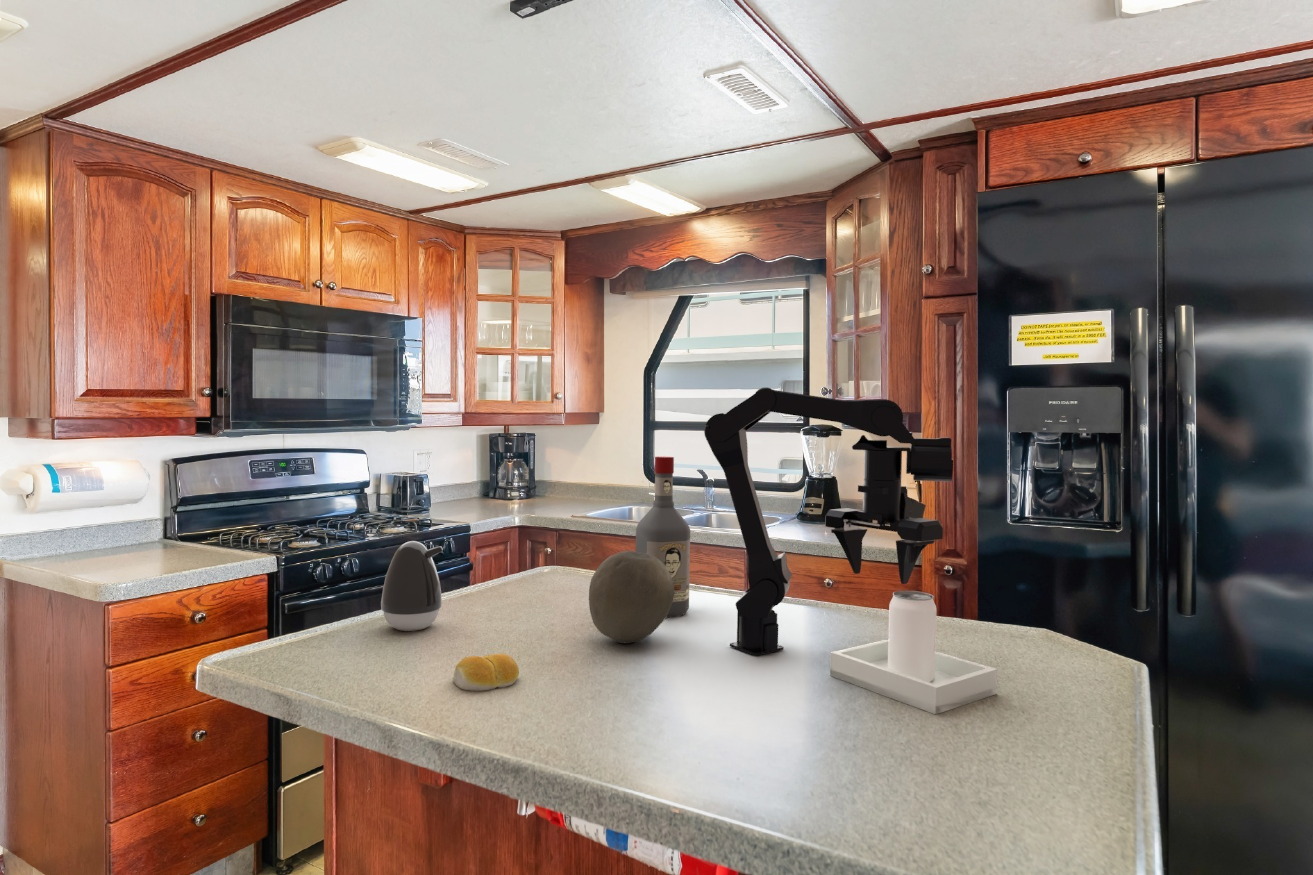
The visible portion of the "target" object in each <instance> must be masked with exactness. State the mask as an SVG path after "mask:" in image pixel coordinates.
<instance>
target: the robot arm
mask: <svg viewBox="0 0 1313 875" xmlns="http://www.w3.org/2000/svg"><path fill="white" fill-rule="evenodd" d="M770 413H777V414H783V415H790V416H796V417H802V418H809V419H815V420H821V421H828V422H834V423H839V424H843V425H846V426H849V427H851V428H854V429H857V430H860V431H863V432H866V433H869V434H872V435H875V436H878V437H890V438H892V439H893V440H895V441H896V442H898V443H899V444H910V446H909V447H908V446H907V447H906V446H905V447H904V446H888V443H887V442H888V440H886V439H868V438H867V437H866V435H864V434H862V435H861V436H860V437H859V439H858V440H857V441H856V442H855V443H854V444H852V446H851V448H852V450H854V451H864V452H863V484H859V485H857V492H858V493H862V494H863V495H862V509H856V508H851V507H849V508H848V507H845V508H844V507H843V508H835V509H829V510H828V511H827V513H826V514H825V518H824V519H825V521H824V522H825V524H824V525H825V526H824V527H825V528H832V529H830V533H832V534H834V535H835V537H836V539H837V541H838V542H839V545H840V546H841V548H842V550H843V552H844V554H845V556H846V559H847V561H848V563H849V565H850V567H851V570H852V572H853V574H854V575H855V574H857V575H859V574H861V569H862V558H863V557H862V555H863V539H864V537H865V535H866V534H867V531H868V529H874V530H882V531H888V532H895V533H897V535H898V537H899V538H900V539H899V540H898V539H897V540H895V545H896V546H895V547H896V557H897V566H898V575H899V576H898V577H899V580H900V583H901V584H902V585H906V584H908V583H909V580H910V578H911V576H912V573H913V570H914V568H915V566H916V563H917V561H918V559H919V557H920V555H921V553H922V551H923V550H924V549H925V548H926V547H927V546H928V545H933V544H935V541H937V540H943V539H944V538H943V535H944V528H943V525H942V523H941V522H940V521H939V519H932V518H925V517H924V515H925V511H926V507H927V505H926V504H925V503H923V502H920V501H918V500H916V499H914V498H912V497H909V494H908V488H907V486H904V485H902V472H903V471H902V467H903V465H902V464H903V463H902V462H903V461H902V460H903V452H906V453H905V454H906V456H905V457H906V458H905V474H906V475H908V474H909V475H910V476H911V475H912V479H913V481H920V482H921V481H922V482H942V483H943V482H945V483H946V482H947V483H951V482H952V481H953V473H954V459H953V456H952V454H953V453H952V451H953V450H952V438H950V437H937V438H933V437H932V438H929V437H928V438H927V437H926V438H925V437H915V438H914V436H913V431H909V430H908V428H907V427H906V426H905V424H904V423H903V422H904V413H903V412H902V409H901V407H900V406H899V404H898V403H896V402H895V401H893V400H890V399H887V398H886V399H885V398H880V399H837V398H830V397H823V396H816V395H809V394H804V393H803V394H802V393H796V392H790V391H784V390H783V391H782V390H776V389H775V388H771V387H761V388H759V389H758V390H756V391H755V393H754V394H752V395H750V397H748V398H746V399H745V400H743V401H742V402H740V403H739V404H737V405H735V406H734V407H733V408H731V409H730V410H728V411H727V412H724V413H723V412H722V413H716V414H713V415H711V417H709V419H707V421H706V424H705V426H704V429H703V433H704V437H705V439H706V442H707V445H708V446H709V447H710V448H709V449H710V450H711V452H712V454H713V456H714V457H715V459H716V461H717V462H718V464H719V465H720V468H722V470H723V472H724V476H725V480H726V483H727V486H728V490H729V493H730V496H731V500H732V504H733V507H734V508H733V509H734V512H735V515H736V518H737V522H738V525H739V528H740V531H741V536H742V538H743V543H744V547H745V550H746V554H747V558H746V560H747V579H748V589H746V590H745V591H744V592H743V594H741V596H740V598H738V600H737V601H736V602H735V606H736V607H735V608H736V610H737V615H736V616H737V618H736V619H737V620H736V623H737V625H736V626H737V627H736V641H732V642H730V643H729V647H732V648H734V649H736V650H738V651H742V652H745V653H748V654H750V655H751V656H752V655H753V656H760V655H764V654H765V655H766V654H769V653H774V652H778V651H779V652H780V651H783V650H784V646H783V645H780V644H779V623H778V613H777V612H775V610H773V609H774V607H775V606H778V605H780V603H781V602H782V601H783V600H784V599H785V597H786V594H787V593H788V591H789V589H790V585H791V583H790V582H791V581H790V580H791V578H792V577H793V574H792V572H791V571H790V569H789V567H788V562H787V554H786V552H782V553H780V554H778V553H777V552H776V550H775V549H774V546H773V545H772V543H771V539H770V537H769V536H770V535H769V533H768V530H767V526H766V522H765V519H764V516H763V515H764V514H763V513H762V509H761V505H760V502H759V498H758V494H757V491H756V488H755V484H754V481H753V477H752V474H751V470H750V467H749V463H748V462H749V461H748V459H749V457H748V452H749V451H748V449H749V448H748V438H747V431H748V430H750V429H752V427H754V426H755V425H757V423H759V422H760V421H761V420H762V419H764V418H765V417H767V416H768V415H769V414H770ZM873 521H876V522H873Z"/></svg>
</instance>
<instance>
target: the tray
mask: <svg viewBox="0 0 1313 875" xmlns="http://www.w3.org/2000/svg"><path fill="white" fill-rule="evenodd" d="M829 663H830V666H829V668H830V670H829V672H830V674H829V676H830V677H833V678H834V679H835V678H836V679H838V680H841V681H843V682H845V683H849V684H852V685H854V686H857V687H860V688H863V689H865V690H868V691H871V692H873V693H876V694H878V695H881V696H885V697H887V698H889V699H893V700H894V701H898V702H900V703H904V704H905V705H908V706H911V707H914V708H917V709H920V710H922V711H926V712H928V713H930V714H933V715H937V714H940V713H944V712H947V711H949V710H953V709H955V708H958V707H962V706H965V705H967V704H970V703H974V702H977V701H980V700H984V699H986V698H988V697H989V698H990V697H992V696H994V695H997V691H998V690H997V689H998V685H997V684H998V668H994V667H992V666H988V665H986V664H981V663H979V662H974V661H971V660H967V659H964V658H961V657H957V656H954V655H950V654H946V653H943V652H940V651H935V678H934V680H932V682H927V681H924V680H920V679H917V678H914V677H911V676H908V675H905V674H902V673H899V672H896V671H893V670H890V669H888V638H887V639H882V640H878V641H874V642H870V643H865V644H861V645H857V646H852V647H849V648H848V647H847V648H844V649H841V650H834V651H831V652H830V662H829Z"/></svg>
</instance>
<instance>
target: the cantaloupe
mask: <svg viewBox="0 0 1313 875" xmlns="http://www.w3.org/2000/svg"><path fill="white" fill-rule="evenodd" d="M673 598H674V583H673V579H672V577H671V574H670V573H669V571H668V569H667V568H666V567H665V565H664V564H663V563H662V562H661V561H660V560H658V559H657V558H656V557H654V556H652V555H650V554H647V553H641V552H636V550H624V551H620V552H617V553H615V554H612V555H610V556H609V557H607V558H605V559H604V560H603V561H602V562H601V563H600V564H599V566H598V567H597V569H595V572H594V573H593V575H592V577H591V579H590V583H589V589H588V604H589V605H588V606H589V607H588V608H589V612H590V616H591V619H592V623H593V625H594V626H595V628H596V629H597V631H599V632H600V633H601V635H603V636H605V637H607V638H608V639H611V640H613V641H615V642H616V643H619V644H629V643H635V642H638V641H641V640H644V639H645V638H646V637H648V636H649V635H651V634H652V633H654V631H656V630H657V629H658V628H659V626H661V624H662V623H663V622H664V621H665V619H666V618H667V617H666V616H667V615H668V613H669V610H670V608H671V605H672V602H673Z"/></svg>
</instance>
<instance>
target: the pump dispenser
mask: <svg viewBox="0 0 1313 875" xmlns="http://www.w3.org/2000/svg"><path fill="white" fill-rule="evenodd" d="M443 550H444V549H443V547H442V546H440V545H439V546H436V547H433V548H430V549H428V548H427V547H426V546H425V545H424V544H423V543H421V542H420V541H416V540H411V541H407V542H405V543H403V544H401V545H400V546H399V547H398V549H397V550H396V551H395V553H394V554H393V557H392V559H391V562H390V564H389V565H388V566H389V567H388V569H387V572H386V574H385V578H384V581H383V582H384V584H383V587H382V595H381V601H380V607H381V608H380V609H381V611H383V616H384V618H385V621H386V623H388V624H389V625H390V627H392V628H394V629H395V630H398V631H403V632H415V631H421V630H423V629H424V630H425V629H427V628H428V627H429V626H431V625H432V624H434V622H435V621H436V619H437V617H438V616H439V612H440V609H441V607H442V604H443V598H442V590H441V589H442V587H441V582H440V577H439V574H438V571H437V567H436V564H435V561H434V560H433V557H434V556H436V555H438V554H439V553H443Z"/></svg>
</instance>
